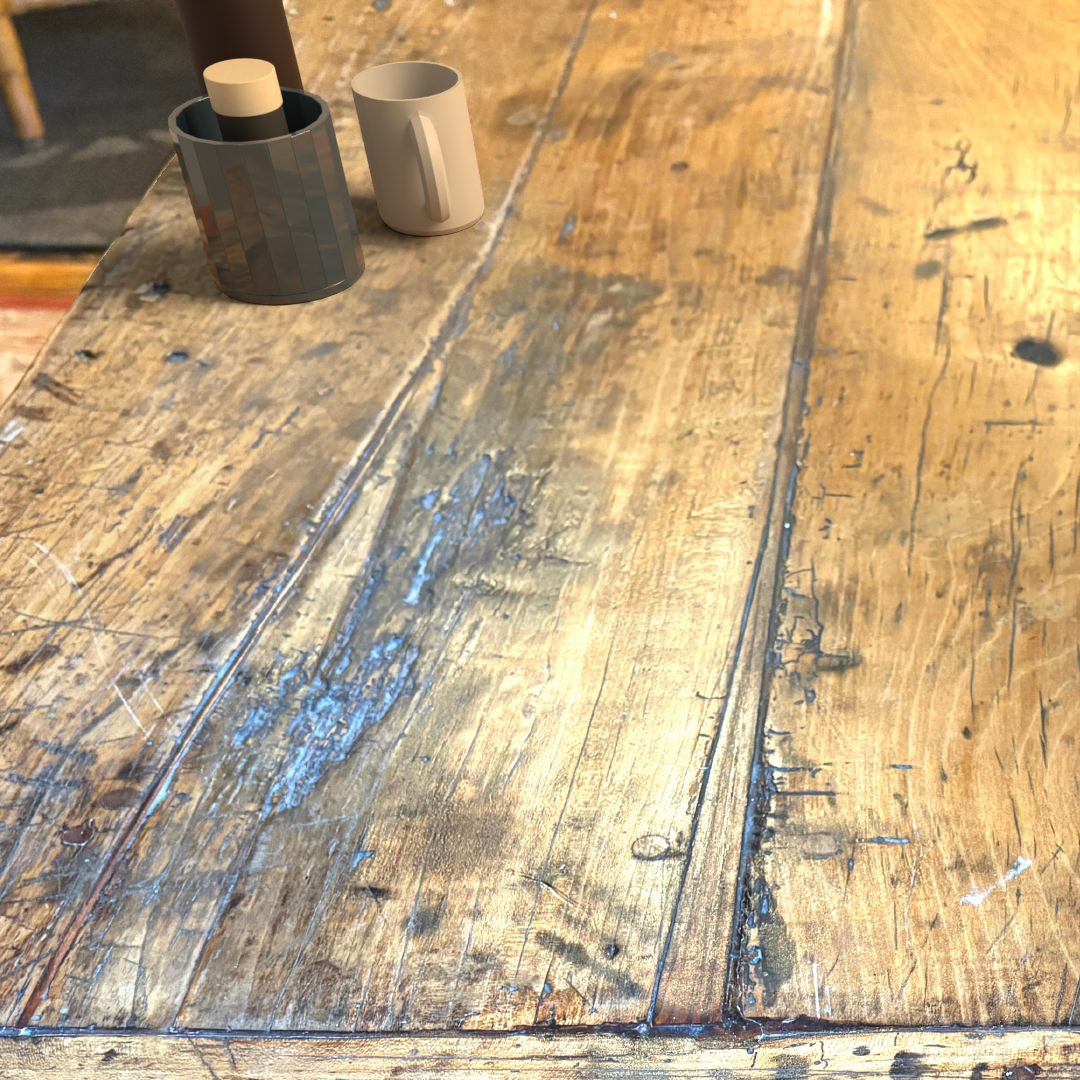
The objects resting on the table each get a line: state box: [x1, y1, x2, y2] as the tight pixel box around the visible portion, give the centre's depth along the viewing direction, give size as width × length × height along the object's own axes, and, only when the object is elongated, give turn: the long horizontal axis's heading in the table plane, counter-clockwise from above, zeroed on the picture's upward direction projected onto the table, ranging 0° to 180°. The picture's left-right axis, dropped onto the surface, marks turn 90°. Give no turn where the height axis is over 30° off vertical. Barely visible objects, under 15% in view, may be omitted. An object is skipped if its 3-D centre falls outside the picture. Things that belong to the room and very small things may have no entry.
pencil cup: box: [167, 87, 366, 305], centre depth 116 cm, size 10×10×10 cm
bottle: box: [174, 0, 305, 96], centre depth 123 cm, size 7×7×20 cm
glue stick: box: [203, 59, 289, 142], centre depth 115 cm, size 4×4×12 cm
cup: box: [350, 60, 486, 237], centre depth 122 cm, size 7×10×9 cm
